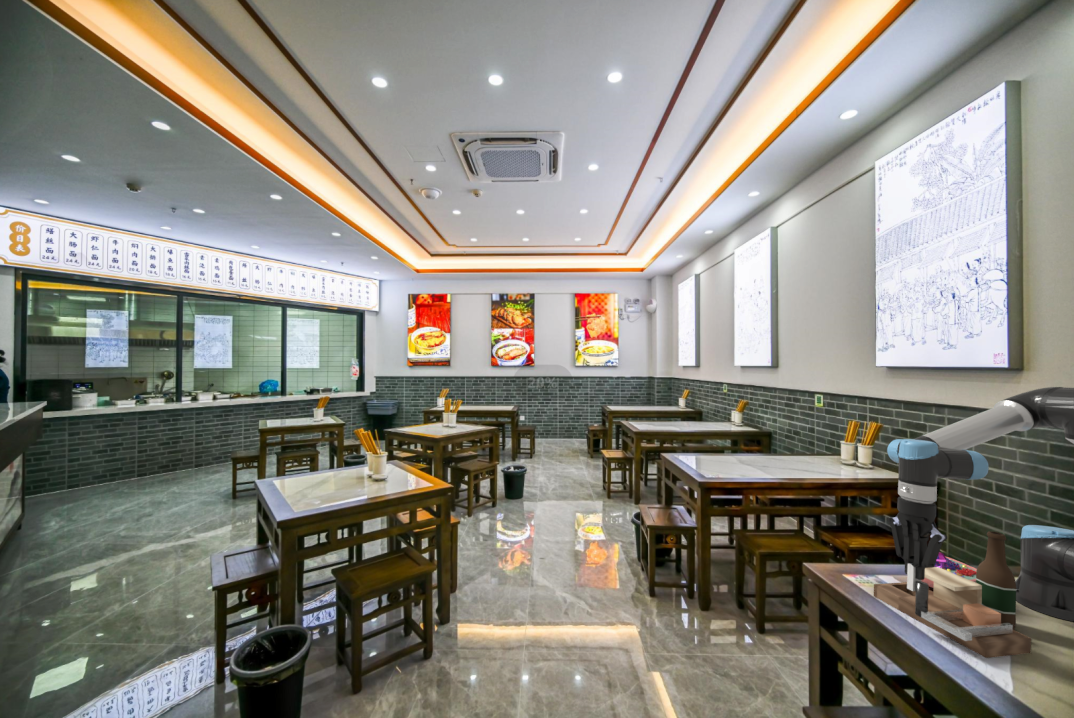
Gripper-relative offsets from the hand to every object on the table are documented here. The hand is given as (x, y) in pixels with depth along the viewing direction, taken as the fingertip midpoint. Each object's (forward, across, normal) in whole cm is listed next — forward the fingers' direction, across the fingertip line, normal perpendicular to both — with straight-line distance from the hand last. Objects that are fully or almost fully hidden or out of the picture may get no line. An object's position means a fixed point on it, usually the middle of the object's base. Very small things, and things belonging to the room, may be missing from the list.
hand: (914, 589), depth 109 cm
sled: (+6, +6, +7) cm, 11 cm away
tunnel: (+6, -1, +12) cm, 14 cm away
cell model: (+10, -14, +30) cm, 35 cm away
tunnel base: (+9, 0, +11) cm, 14 cm away
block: (+6, +7, +12) cm, 15 cm away
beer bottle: (+10, +2, +25) cm, 27 cm away
